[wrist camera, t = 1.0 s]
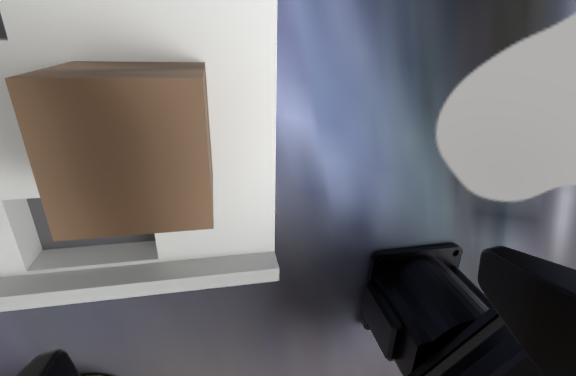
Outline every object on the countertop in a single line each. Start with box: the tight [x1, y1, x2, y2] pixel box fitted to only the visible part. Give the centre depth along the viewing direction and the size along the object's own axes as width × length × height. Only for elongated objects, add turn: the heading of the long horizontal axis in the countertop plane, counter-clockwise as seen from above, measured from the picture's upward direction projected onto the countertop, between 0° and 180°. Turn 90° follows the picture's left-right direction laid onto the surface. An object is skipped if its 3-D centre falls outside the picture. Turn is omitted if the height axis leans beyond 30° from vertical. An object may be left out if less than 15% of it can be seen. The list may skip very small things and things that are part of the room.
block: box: [5, 61, 214, 241], centre depth 13 cm, size 5×5×5 cm
